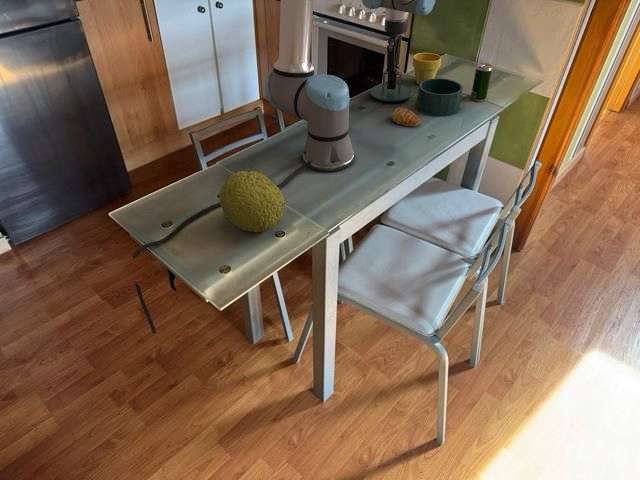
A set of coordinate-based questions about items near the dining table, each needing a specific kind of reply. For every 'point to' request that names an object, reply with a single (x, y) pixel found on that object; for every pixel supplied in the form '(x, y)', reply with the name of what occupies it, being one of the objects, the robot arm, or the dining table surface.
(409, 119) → the pastry
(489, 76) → the beer can
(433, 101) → the pot
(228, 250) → the dining table surface
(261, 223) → the fruit
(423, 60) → the flower pot
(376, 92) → the lid
